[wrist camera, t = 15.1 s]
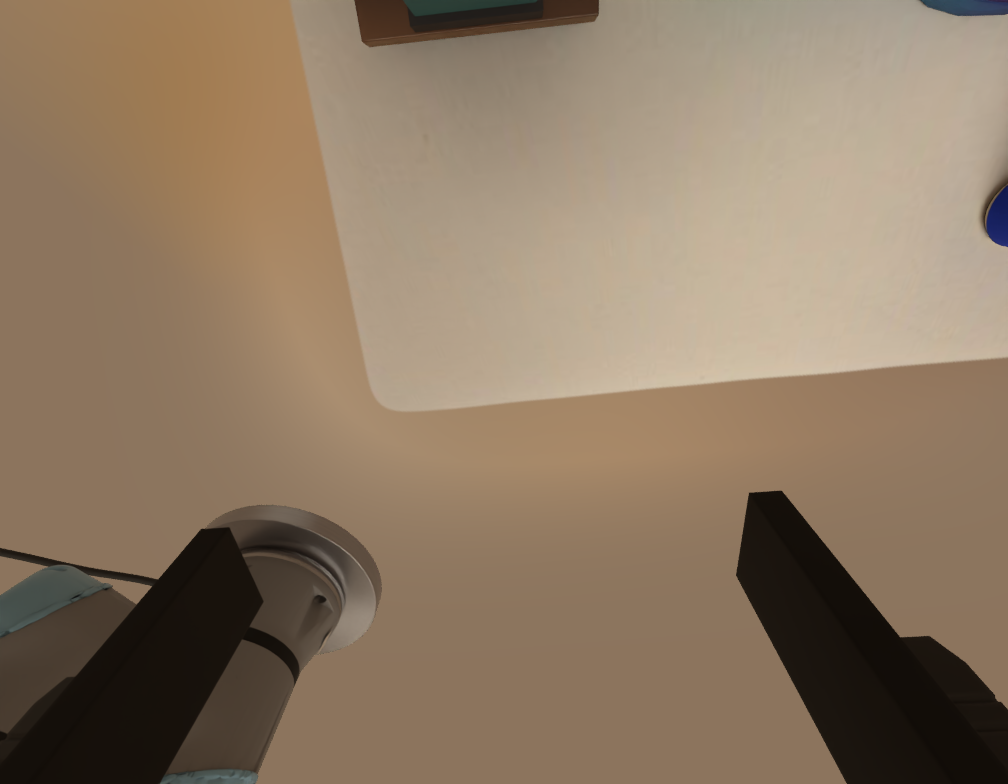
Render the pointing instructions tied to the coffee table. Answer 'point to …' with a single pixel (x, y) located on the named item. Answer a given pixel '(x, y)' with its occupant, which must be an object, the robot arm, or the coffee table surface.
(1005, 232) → the beverage can
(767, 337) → the coffee table surface
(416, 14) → the teal stepped block
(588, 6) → the brown wooden board
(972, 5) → the sneaker
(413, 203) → the coffee table surface
